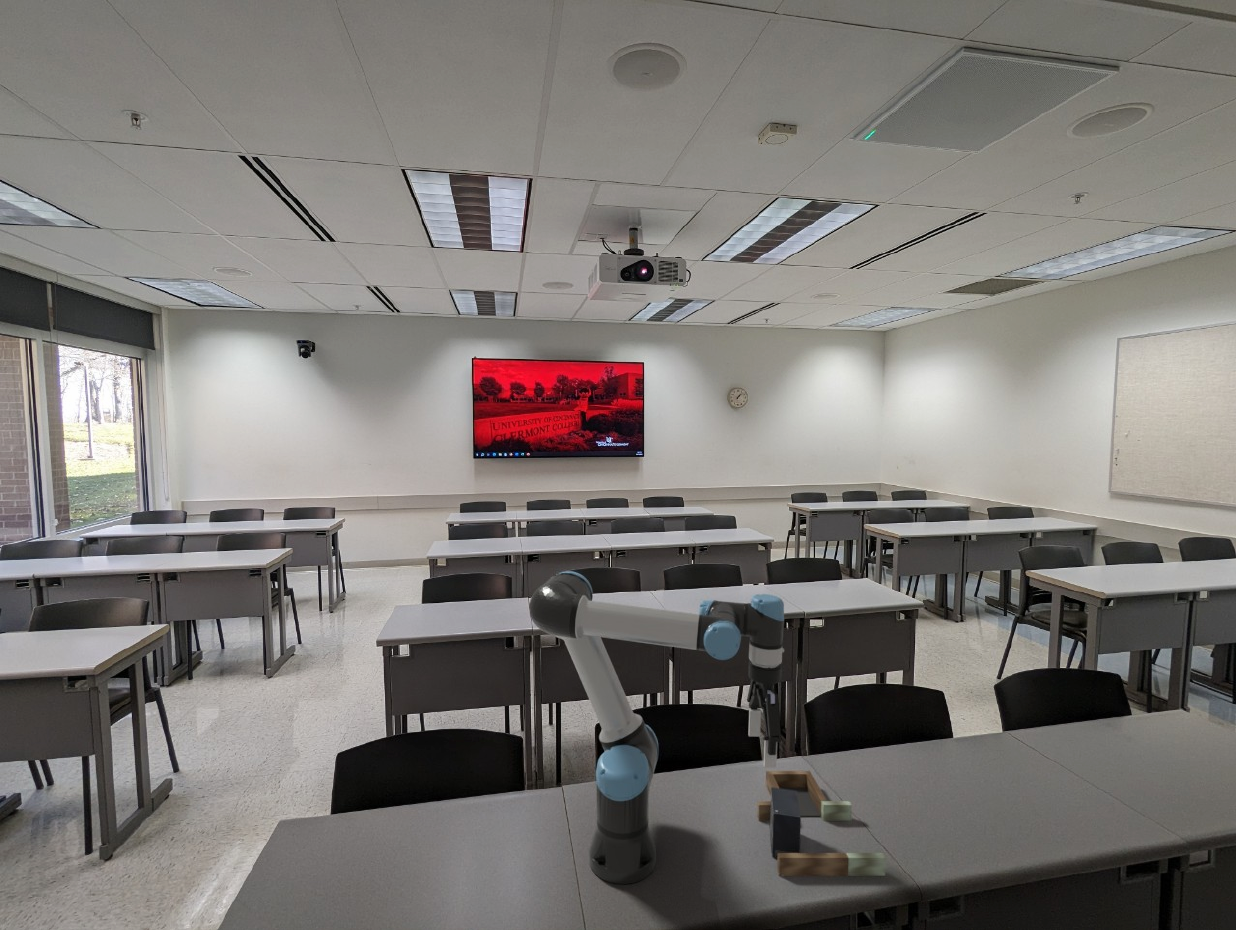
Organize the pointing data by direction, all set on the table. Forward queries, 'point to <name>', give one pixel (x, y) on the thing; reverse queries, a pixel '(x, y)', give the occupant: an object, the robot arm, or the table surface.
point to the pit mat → (805, 802)
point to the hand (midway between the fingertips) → (761, 750)
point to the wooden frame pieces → (829, 812)
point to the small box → (784, 822)
